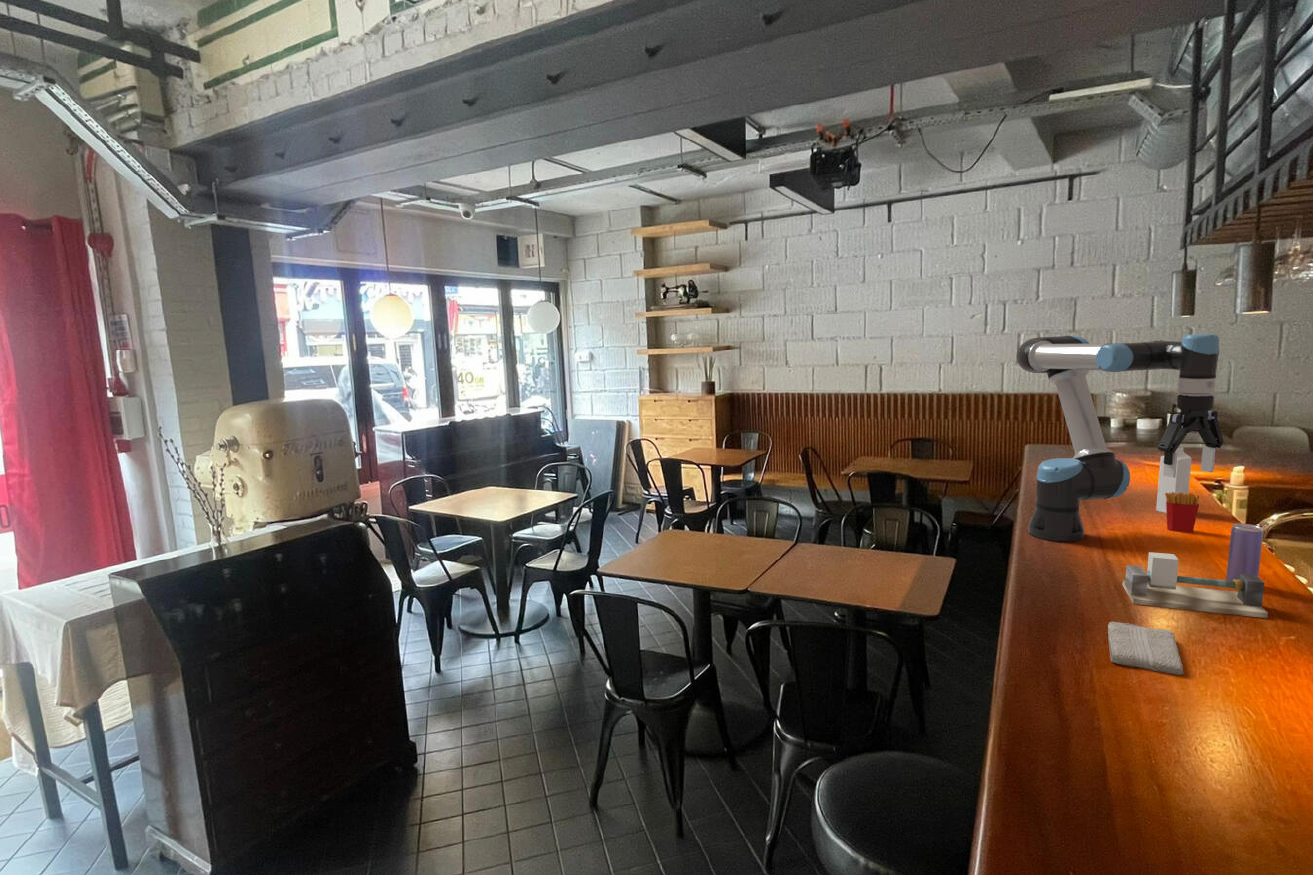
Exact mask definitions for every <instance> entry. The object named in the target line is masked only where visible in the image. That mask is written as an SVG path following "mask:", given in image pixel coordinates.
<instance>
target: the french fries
mask: <svg viewBox="0 0 1313 875" xmlns="http://www.w3.org/2000/svg"><path fill="white" fill-rule="evenodd" d="M1165 496H1166V500H1167V501H1166V513H1165V514H1166V529H1167V530H1168V531H1172V532H1180V533H1194V530H1195V524H1196V520H1197V515H1198V511H1199V508H1200V504H1199V499H1200V495H1198V494H1197V495H1195V494H1194V493H1192V492H1188V494H1187V493H1185V494H1183V493H1181V492H1178V494H1176V496H1175V493H1174V492H1172V494H1171V493H1169V494H1168V493H1165Z"/></svg>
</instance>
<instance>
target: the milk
mask: <svg viewBox="0 0 1313 875" xmlns="http://www.w3.org/2000/svg"><path fill="white" fill-rule="evenodd" d="M1184 448H1185V447H1183V446H1182V447H1178V448H1177V450H1176V451H1175V453H1178V456H1177V467H1176V477H1175V478H1172V477H1167V476H1163V471H1164V455H1161V456H1160V460H1159V461H1160V462H1159V473H1158V485H1157V486H1158V487H1157V498H1156V507H1155V511H1156V512H1160V513H1164V514H1167V513H1166V501H1167V500H1166V496H1165V493H1168V494H1169V493H1171V494H1172V492H1174V493H1175V496H1176V494H1178V492H1181V493H1183V494H1185V493H1187V494H1189V490H1190V489H1189V488H1190V480H1191V469H1192V457H1191V456H1190V455H1189V454H1187V453H1186V452H1184Z"/></svg>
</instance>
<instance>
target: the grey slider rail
mask: <svg viewBox="0 0 1313 875" xmlns="http://www.w3.org/2000/svg"><path fill="white" fill-rule="evenodd" d="M1125 569H1126V570H1125V579H1124V580H1122V586H1123V588H1124V590H1125V592H1126V594H1127V595H1128V597H1129V599H1130V600H1131V602H1132V604H1135V605H1142V606H1153V607H1162V608H1168V609H1169V608H1171V609H1179V610H1187V611H1189V610H1190V611H1196V612H1197V611H1199V612H1205V613H1208V612H1209V613H1214V614H1215V613H1217V614H1224V615H1225V614H1226V615H1235V616H1242V617H1243V616H1245V617H1252V618H1253V617H1254V618H1262V619H1268V618H1269V617H1268V616H1269V612H1268V611H1267V610H1266V609H1264V607H1263V599H1264V592H1265V585H1266V584H1265V583H1266V582H1264V581H1263V580H1262V579H1261V578H1260V577H1259V575H1258V576H1257V575H1251V574H1240V576H1239V579H1233V581H1227V580H1226V579H1225V580H1224V579H1216V578H1204V577H1194V576H1193V577H1192V576H1184V575H1183V576H1182V575H1177V583H1178V584H1188V585H1196V586H1197V585H1198V586H1199V585H1200V586H1206V587H1207V586H1210V587H1216V588H1217V587H1220V588H1228V589H1232V590H1233V591H1231V590H1224V589H1222V590H1221V589H1211V588H1202V587H1192V586H1191V587H1190V586H1180V585H1176V590H1174V589H1164V588H1154V587H1150V586H1149V584H1148V583H1147V582H1148V580H1150V575H1151V573H1147V572H1146V571H1145V570H1144V568H1143V566H1142V565H1141V566H1140V565H1132V564H1126V568H1125ZM1177 583H1176V584H1177Z"/></svg>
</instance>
